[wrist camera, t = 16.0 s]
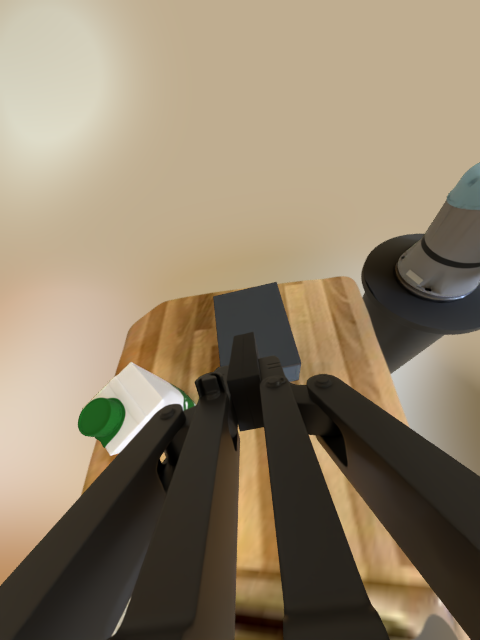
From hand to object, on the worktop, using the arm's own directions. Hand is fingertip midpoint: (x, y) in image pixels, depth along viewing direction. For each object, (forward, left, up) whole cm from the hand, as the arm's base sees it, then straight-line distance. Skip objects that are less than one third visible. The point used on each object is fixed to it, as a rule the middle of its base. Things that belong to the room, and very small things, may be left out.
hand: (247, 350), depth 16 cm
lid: (0, -13, -19) cm, 23 cm away
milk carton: (+17, -1, -28) cm, 33 cm away
